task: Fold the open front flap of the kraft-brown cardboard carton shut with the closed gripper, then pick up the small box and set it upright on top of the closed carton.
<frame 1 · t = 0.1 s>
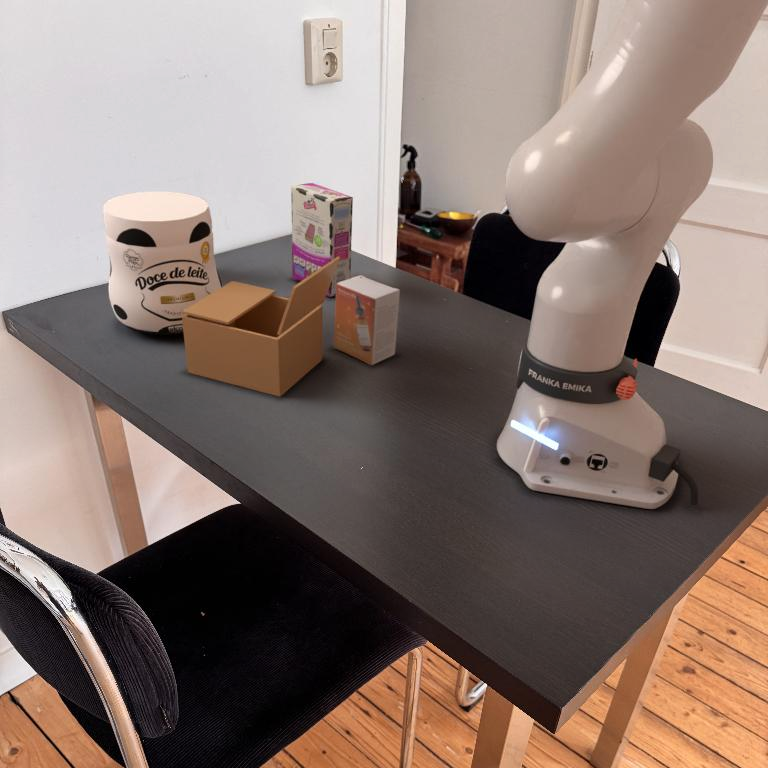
doce de leite jar: (170, 322, 126), on the table
candy bar box: (321, 286, 142), on the table
flap: (309, 294, 105), point 13 cm above the table, hinge at 110.0°
small box: (364, 353, 121), on the table
carton: (256, 366, 115), on the table
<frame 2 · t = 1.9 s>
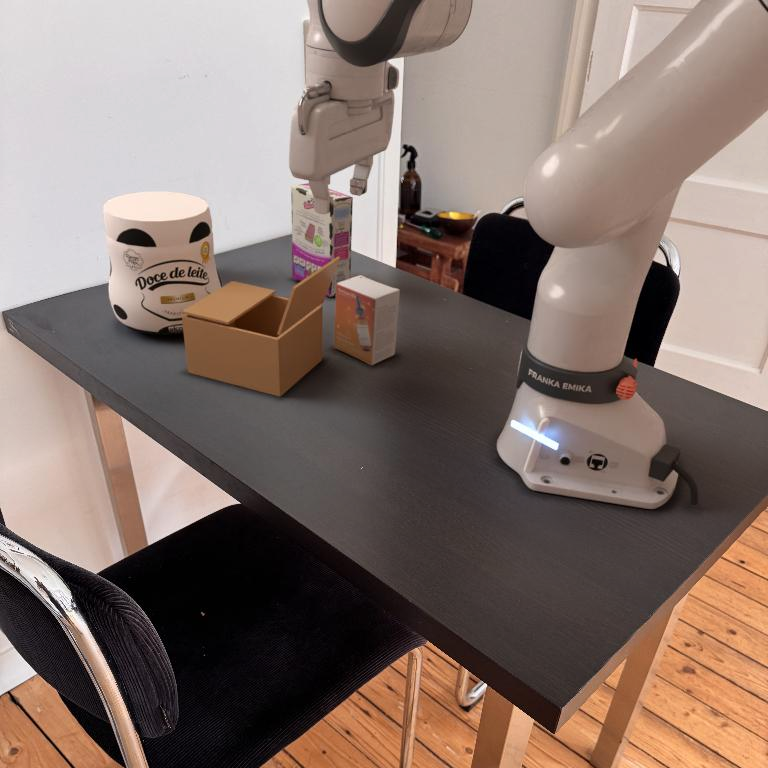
hand: (341, 202, 97), 25 cm above the table, tool pointing down, fingers open, 8 cm apart
nothing on the table moved.
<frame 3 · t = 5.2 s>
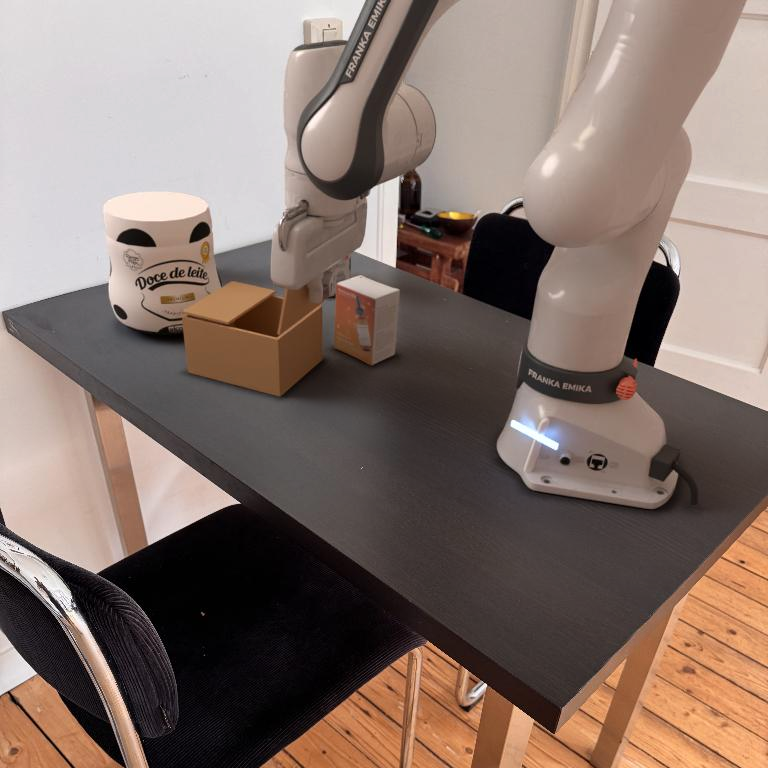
hand: (319, 299, 105), 12 cm above the table, tool pointing down, fingers closed, pressing on flap
flap: (306, 293, 105), point 13 cm above the table, hinge at 102.2°, touching gripper
everything else where it was.
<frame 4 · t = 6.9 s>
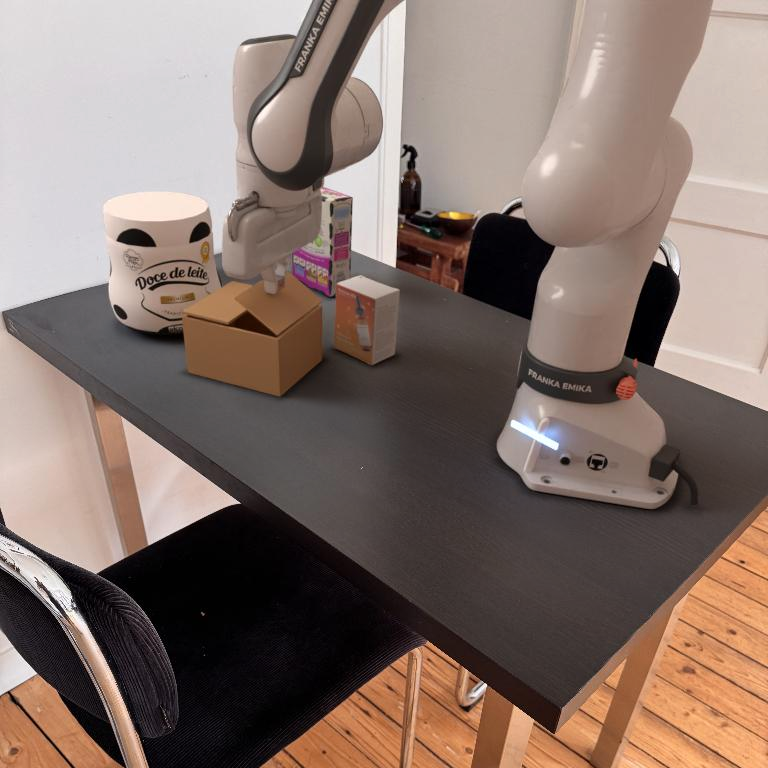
hand: (275, 290, 107), 12 cm above the table, tool pointing down, fingers closed, pressing on flap
flap: (280, 299, 107), point 11 cm above the table, hinge at 30.7°, touching gripper
everything else where it was.
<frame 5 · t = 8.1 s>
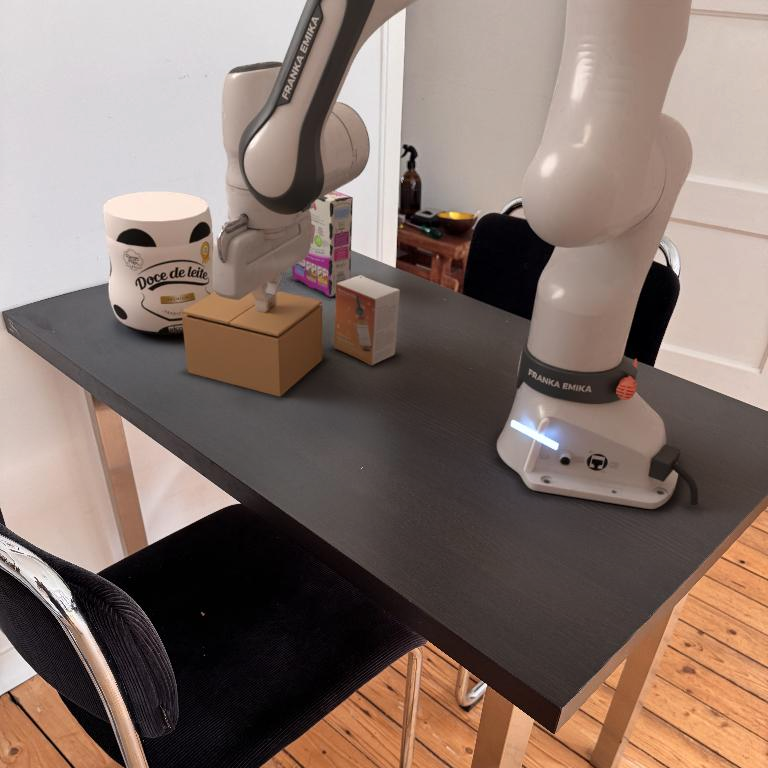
hand: (266, 308, 109), 9 cm above the table, tool pointing down, fingers closed, pressing on flap
flap: (277, 312, 109), point 9 cm above the table, hinge at 0.0°, touching gripper
everything else where it was.
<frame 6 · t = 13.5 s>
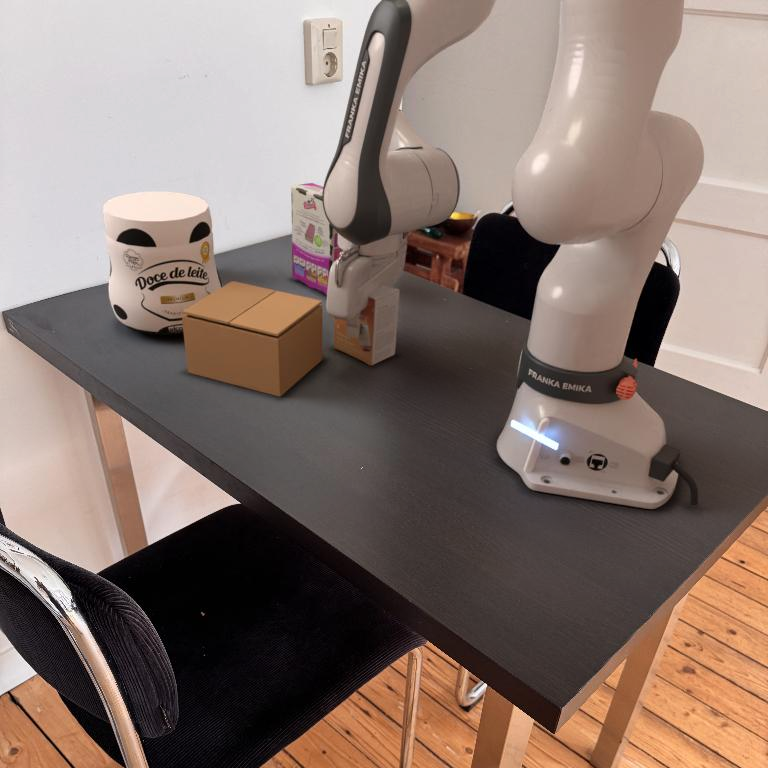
hand: (365, 326, 118), 4 cm above the table, tool pointing down, fingers closed on small box, 6 cm apart
flap: (277, 312, 109), point 9 cm above the table, hinge at -0.1°
small box: (364, 353, 121), on the table, touching gripper
everything else where it was.
when the fingers open (13 cm above the table, at t = 21.8 s): small box stays where it is, resting on carton.
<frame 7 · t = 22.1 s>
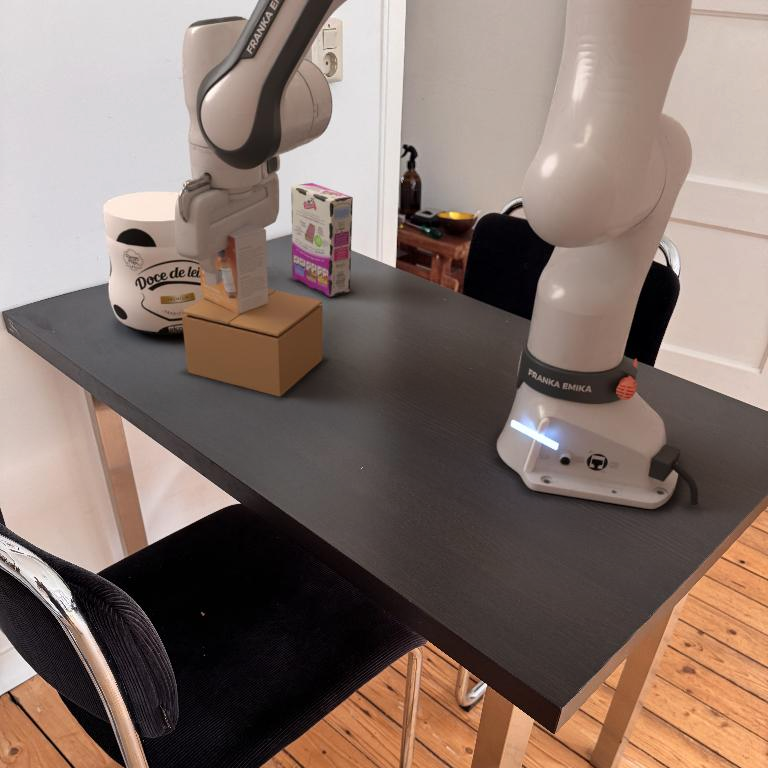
hand: (233, 272, 108), 13 cm above the table, tool pointing down, fingers open, 8 cm apart
small box: (235, 302, 111), point 9 cm above the table, touching carton
everything else where it was.
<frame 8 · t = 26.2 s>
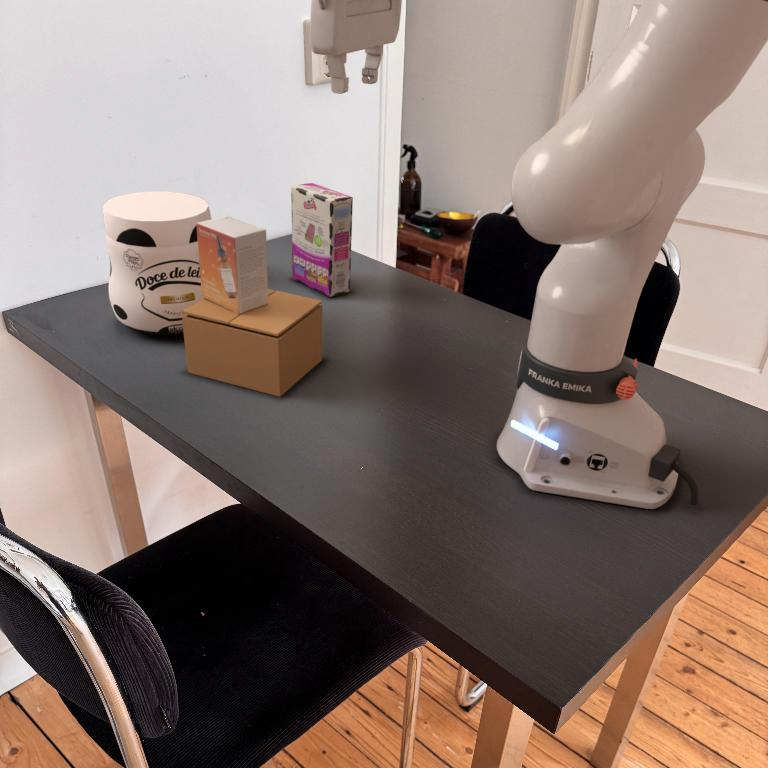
hand: (355, 87, 105), 35 cm above the table, tool pointing down, fingers open, 8 cm apart
nothing on the table moved.
at the end: flap at +0° (first picture: +110°); small box inside the target area on the carton (0.4 cm from its centre), point 9.1 cm above the carton's base; small box tilted 0° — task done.
